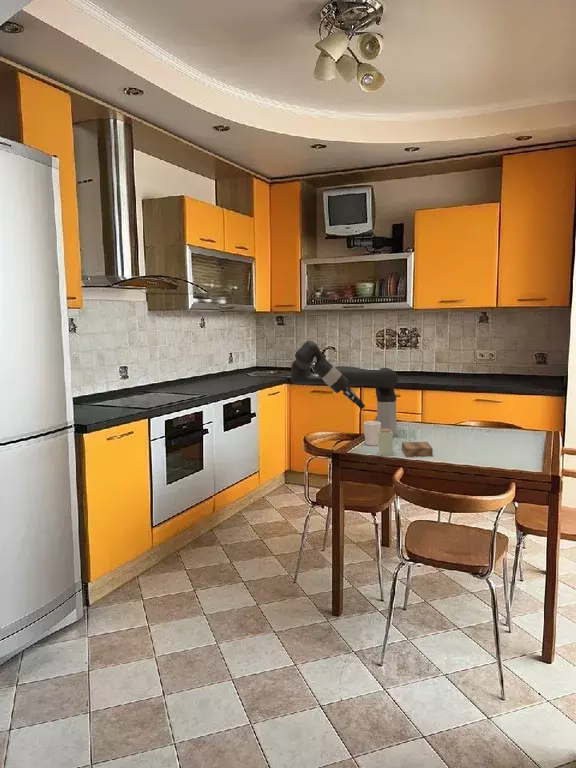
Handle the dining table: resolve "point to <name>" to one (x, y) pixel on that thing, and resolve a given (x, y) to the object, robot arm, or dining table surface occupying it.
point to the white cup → (371, 432)
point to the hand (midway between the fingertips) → (362, 405)
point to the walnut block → (417, 449)
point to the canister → (385, 442)
